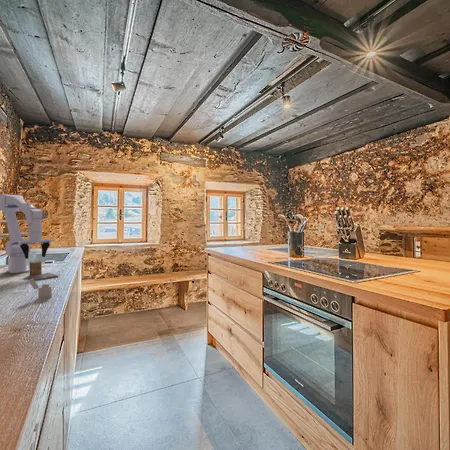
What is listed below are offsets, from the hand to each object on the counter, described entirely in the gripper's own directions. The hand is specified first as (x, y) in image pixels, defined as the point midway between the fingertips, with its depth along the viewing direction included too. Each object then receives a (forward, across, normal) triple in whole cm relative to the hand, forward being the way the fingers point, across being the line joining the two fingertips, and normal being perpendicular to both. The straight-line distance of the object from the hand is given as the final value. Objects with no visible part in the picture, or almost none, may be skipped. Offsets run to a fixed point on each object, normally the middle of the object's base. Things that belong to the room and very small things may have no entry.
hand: (35, 257), depth 138 cm
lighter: (+10, -15, -45) cm, 48 cm away
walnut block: (+9, 0, 0) cm, 9 cm away
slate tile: (+9, 0, -8) cm, 13 cm away
